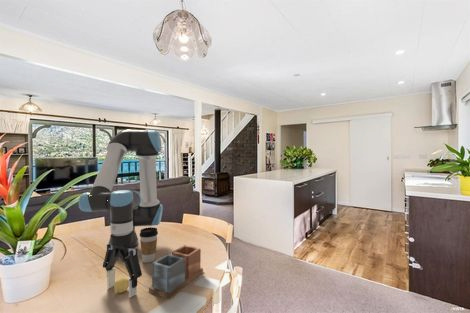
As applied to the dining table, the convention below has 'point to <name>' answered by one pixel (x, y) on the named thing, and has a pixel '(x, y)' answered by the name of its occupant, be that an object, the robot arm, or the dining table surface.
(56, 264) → the dining table surface
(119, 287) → the ochre ball
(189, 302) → the dining table surface
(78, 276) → the dining table surface
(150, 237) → the coffee cup
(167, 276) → the desk organizer
